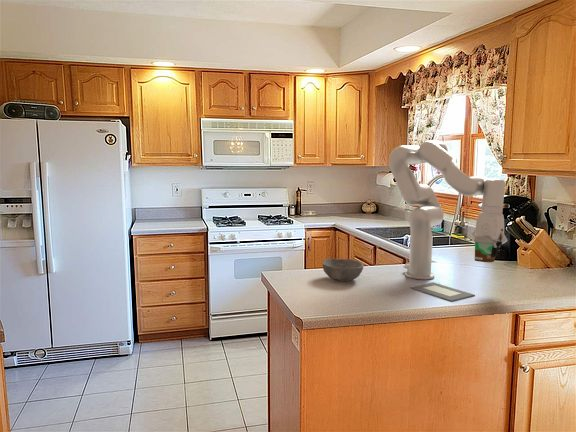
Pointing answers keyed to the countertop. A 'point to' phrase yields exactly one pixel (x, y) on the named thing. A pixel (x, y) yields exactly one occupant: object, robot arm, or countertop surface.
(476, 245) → the food container
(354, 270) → the bowl
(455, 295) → the mat
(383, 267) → the countertop surface
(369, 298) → the countertop surface
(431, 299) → the countertop surface
